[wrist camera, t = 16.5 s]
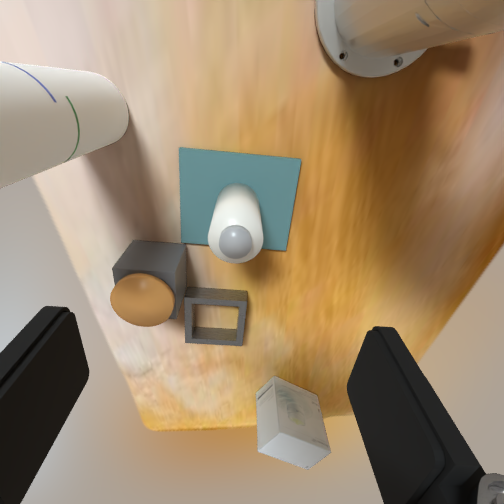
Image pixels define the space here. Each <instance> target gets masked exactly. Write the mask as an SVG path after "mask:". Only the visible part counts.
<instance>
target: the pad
mask: <svg viewBox="0 0 504 504" xmlns="http://www.w3.org/2000/svg"><path fill="white" fill-rule="evenodd" d="M300 165H301V159H297V158H287V157H276V156H266V155H255V154H245V153H234V152H224V151H214V150H203V149H193V148H182V147H180V148H179V171H180V210H181V243H193V244H206V245H209V243H208V233H209V229H210V225H211V221H212V217H213V213H214V209H215V205H216V201H217V197H218V195H219V193H220V191H221V190H222V189H223V188H224V187H226V186H227V185H229V184H233V183H242V184H245V185H248V186H249V187H251V188H252V189H253V190H254V191H255V193H256V194H257V197H258V200H259V208H260V215H261V223H262V231H263V245H262V248H261V249H272V250H285V251H286V246H287V241H288V235H289V229H290V223H291V217H292V212H293V206H294V200H295V194H296V188H297V183H298V177H299V171H300Z"/></svg>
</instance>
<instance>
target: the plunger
mask: <svg viewBox="0 0 504 504" xmlns="http://www.w3.org/2000/svg"><path fill="white" fill-rule="evenodd" d="M110 301H111V305H112V308H113V309H114V311H115V312H116V314H117V315H118V316H119V317H121V318H122V319H123V320H125V321H127V322H129V323H131V324H134V325H137V326H143V327H150V326H156V325H159V324H161V323H163V322H165V321H166V320H167V319H168V318H169V317H170V315H171V313H172V310H173V307H174V304H175V299H174V294H173V292H172V290H171V289H170V287H169V286H168V285H167V284H166V283H165V280H161V279H159V278H157V277H155V276H152V275H149V274H143V273H136V274H130V275H127V276H125V277H123V278H122V279H120V280H119V281H118V283H117V284H116V285H115V287H114V288H113V290H112V292H111V296H110Z"/></svg>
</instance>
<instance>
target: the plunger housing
mask: <svg viewBox="0 0 504 504" xmlns="http://www.w3.org/2000/svg"><path fill="white" fill-rule="evenodd" d="M112 270H113V276H114V283H115V285H116V284H117V283H118V281H119V280H120V279H122V278H123V277H125V276H127V275H130V274H136V273H143V274H149V275H152V276H155V277H157V278H159V279H161V280H165V283H166V284H167V285H168V286H169V287H170V289H171V290H172V292H173V294H174V299H175V304H174V307H173V310H172V313H171V315H170V317H169V318H168V319H177V316H178V313H179V310H180V307H181V303H182V300H183V297H184V294H185V290H186V287H187V273H186V244H178V243H164V242H151V241H138V240H133V241H132V242H131V244H130V245H129V246H128V248H127V249H126V250H125V252H124V253H123V254H122V256H121V257H120V258H119V260H118V261H117V262H116V264H115V265H114V266H113V268H112Z"/></svg>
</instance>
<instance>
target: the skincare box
mask: <svg viewBox="0 0 504 504" xmlns="http://www.w3.org/2000/svg"><path fill="white" fill-rule="evenodd" d="M256 409H257V445H258V448H257V449H258V452H260V453H263V454H266V455H269V456H272V457H274V458H277V459H280V460H282V461H285V462H288V463H291V464H293V465H296V466H299V467H302V468H305V469H307V470H308V469H309V468H311V467H312V466H314V465H315V464H316V463H318V462H319V461H321V460H322V459H323V458H325V457H326V456H327V455H328V454H330V453H331V450H330V446H329V442H328V438H327V434H326V430H325V426H324V422H323V417H322V413H321V409H320V405H319V400H318V396H317V395H316V394H313V393H311V392H309V391H307V390H305V389H302V388H300V387H298V386H296V385H294V384H292V383H289V382H287V381H285V380H283V379H281V378H279V377H276V376H273V377H272V378H271V379H270V380H269V381H268V382H267V383H266V384H265V385H264V386H263V387H262V388H261V389H260V390H258V391H257V392H256Z"/></svg>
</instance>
